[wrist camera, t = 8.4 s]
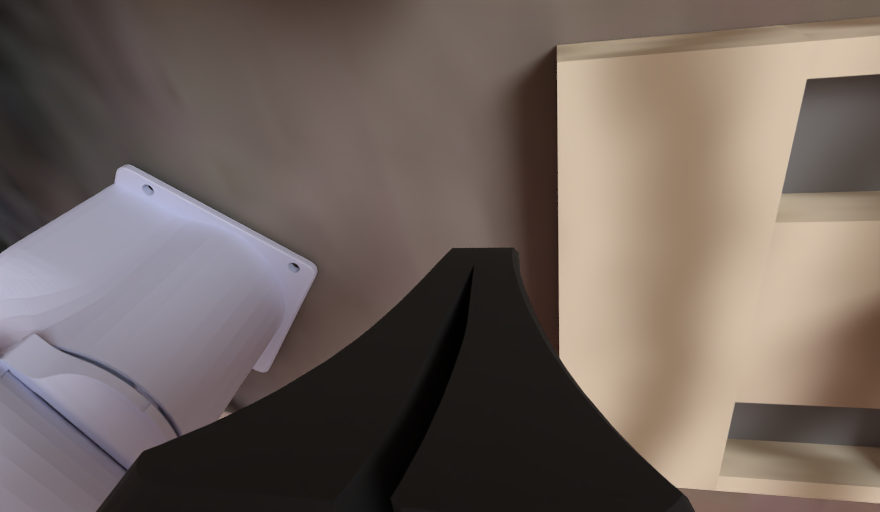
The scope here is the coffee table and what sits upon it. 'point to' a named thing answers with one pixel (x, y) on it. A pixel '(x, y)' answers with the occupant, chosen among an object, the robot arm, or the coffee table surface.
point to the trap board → (727, 252)
